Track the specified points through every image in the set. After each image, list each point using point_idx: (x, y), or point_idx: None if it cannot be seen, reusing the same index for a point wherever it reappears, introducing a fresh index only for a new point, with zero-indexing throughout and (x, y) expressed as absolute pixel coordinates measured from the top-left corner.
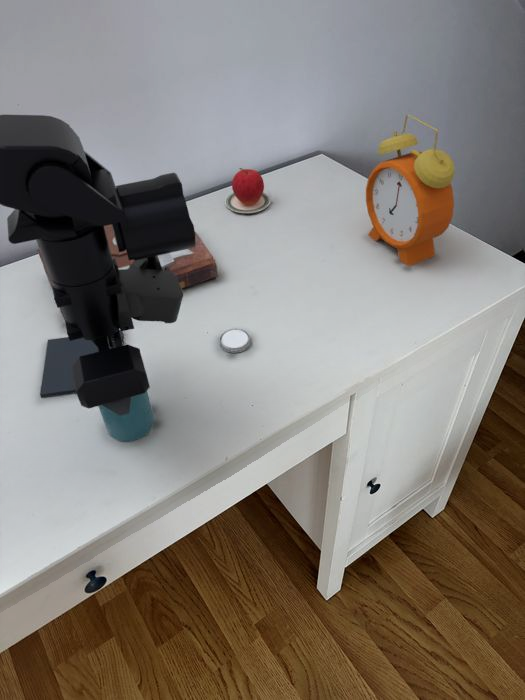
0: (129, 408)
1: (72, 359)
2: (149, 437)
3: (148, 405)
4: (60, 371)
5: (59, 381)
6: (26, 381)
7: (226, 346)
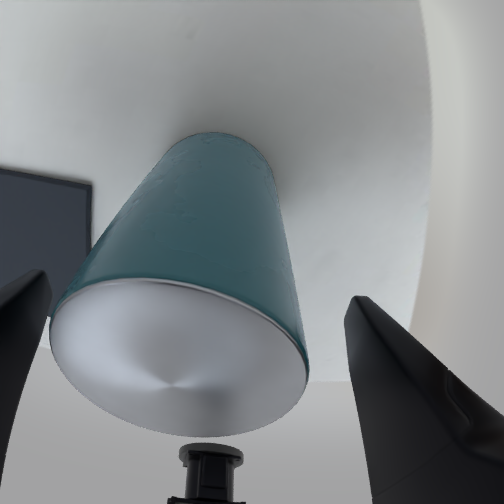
0: (390, 317)
1: (17, 268)
2: (281, 162)
3: (245, 165)
4: None
5: None
6: None
7: None
